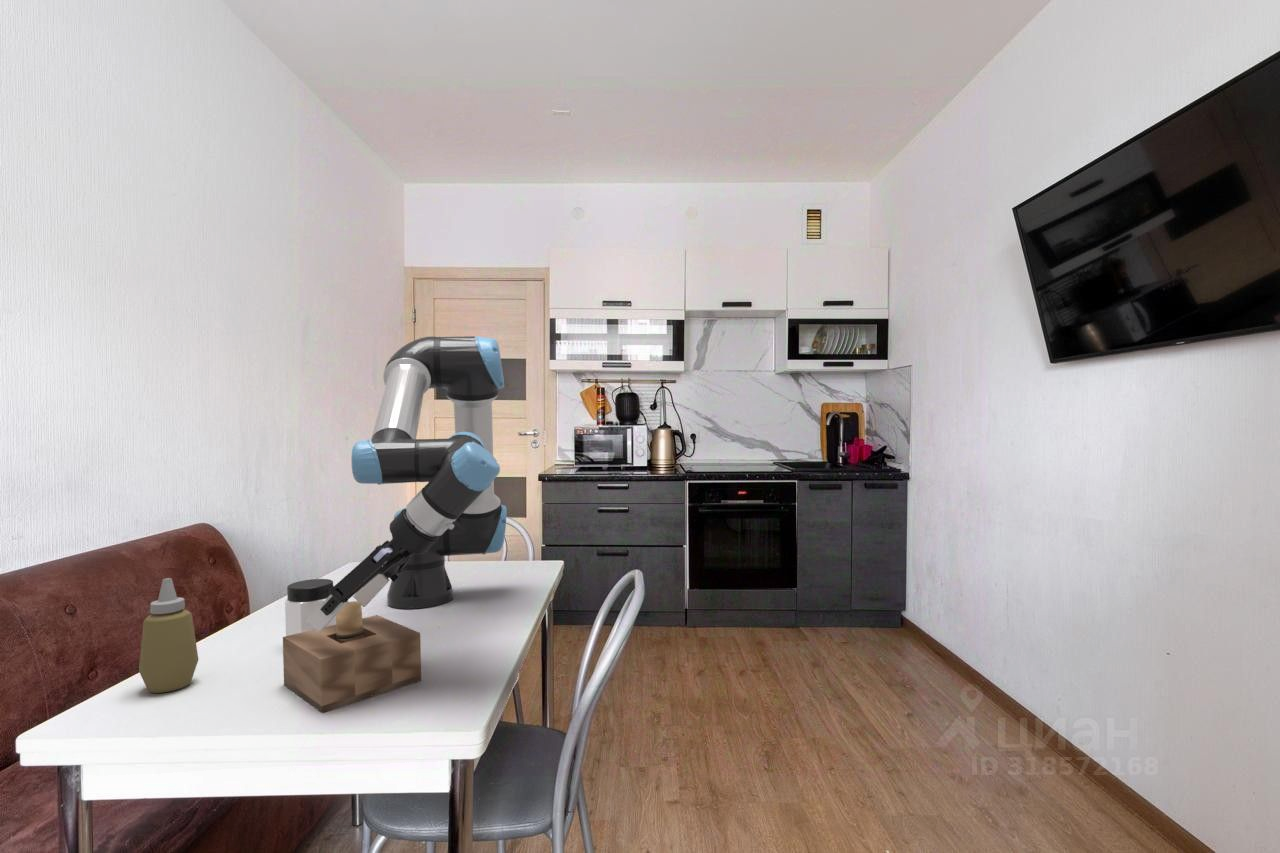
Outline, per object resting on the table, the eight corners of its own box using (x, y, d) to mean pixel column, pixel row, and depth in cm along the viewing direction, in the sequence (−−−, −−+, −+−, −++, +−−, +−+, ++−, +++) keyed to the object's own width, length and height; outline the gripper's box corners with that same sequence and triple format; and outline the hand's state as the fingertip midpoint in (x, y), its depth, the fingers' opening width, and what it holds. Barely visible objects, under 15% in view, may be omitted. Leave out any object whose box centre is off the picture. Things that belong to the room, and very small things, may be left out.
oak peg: (360, 669, 113) (355, 599, 112) (371, 675, 110) (366, 603, 110) (335, 677, 110) (329, 606, 109) (345, 683, 107) (340, 610, 107)
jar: (288, 655, 124) (286, 591, 124) (284, 643, 131) (282, 583, 131) (340, 645, 129) (338, 584, 129) (333, 634, 136) (331, 576, 136)
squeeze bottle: (152, 700, 104) (149, 587, 104) (130, 690, 108) (127, 581, 108) (208, 683, 111) (205, 576, 111) (185, 674, 115) (182, 571, 115)
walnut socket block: (378, 658, 121) (377, 615, 121) (421, 680, 110) (420, 632, 110) (284, 685, 109) (282, 636, 109) (321, 712, 98) (320, 659, 98)
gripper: (404, 553, 96) (309, 655, 97) (465, 526, 121) (389, 607, 122) (368, 517, 96) (274, 619, 98) (437, 497, 121) (361, 578, 123)
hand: (337, 612), depth 110 cm, fingers open, 13 cm apart
